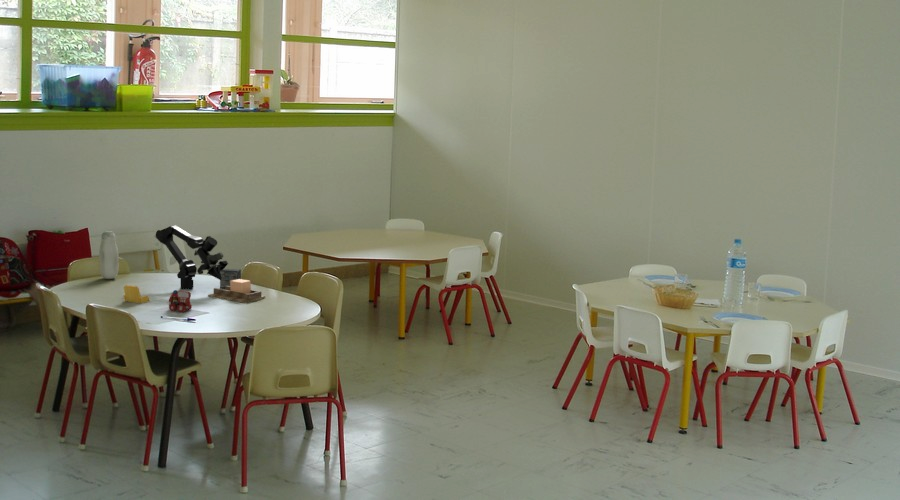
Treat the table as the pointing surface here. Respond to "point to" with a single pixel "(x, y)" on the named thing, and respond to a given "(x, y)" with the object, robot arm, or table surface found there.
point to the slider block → (240, 286)
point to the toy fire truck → (180, 301)
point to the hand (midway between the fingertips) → (220, 279)
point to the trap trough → (236, 295)
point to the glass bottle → (108, 255)
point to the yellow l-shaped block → (134, 295)
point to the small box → (229, 276)
